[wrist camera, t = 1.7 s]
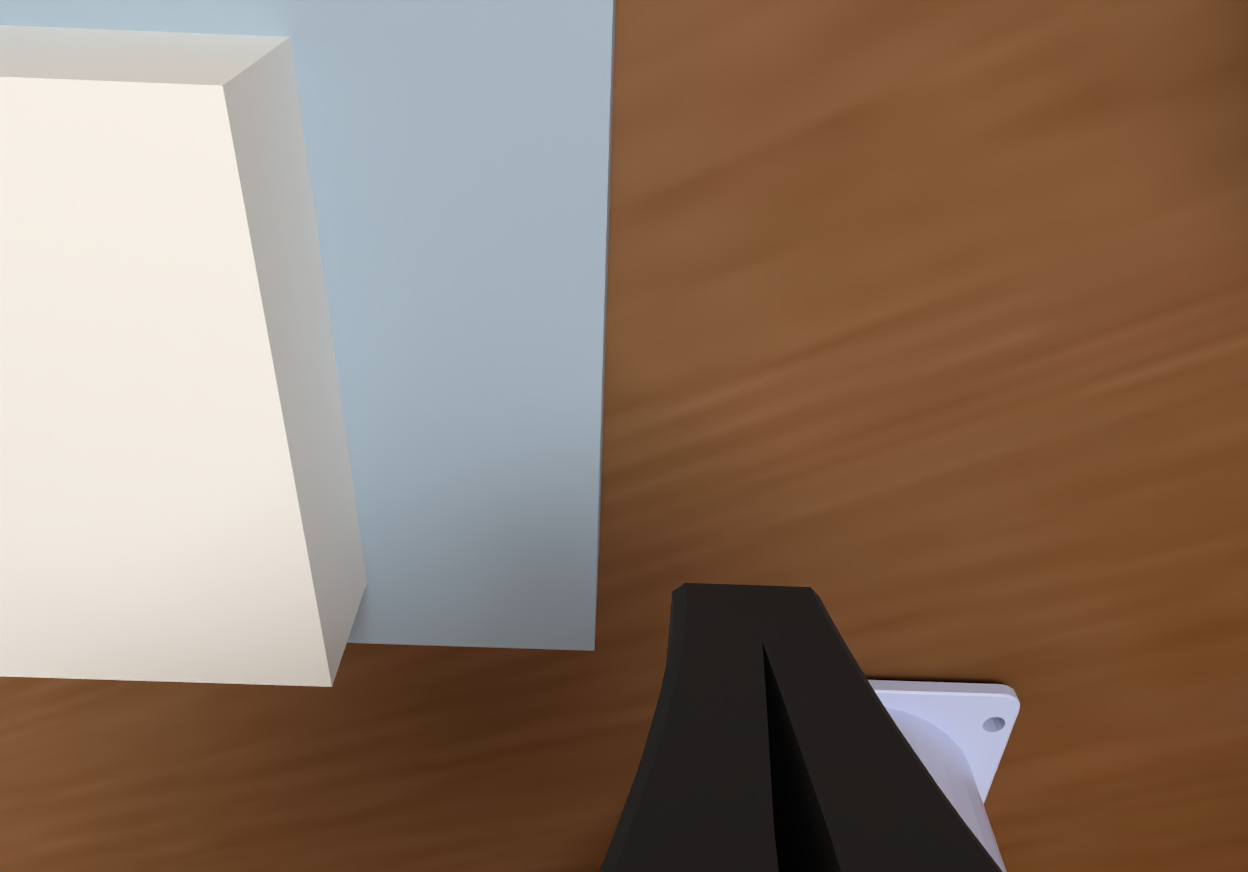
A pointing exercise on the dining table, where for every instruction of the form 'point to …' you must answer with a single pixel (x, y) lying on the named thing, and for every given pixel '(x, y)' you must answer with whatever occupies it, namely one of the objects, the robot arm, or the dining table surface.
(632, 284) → the dining table surface
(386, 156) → the deck
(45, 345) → the cream tapered slab
